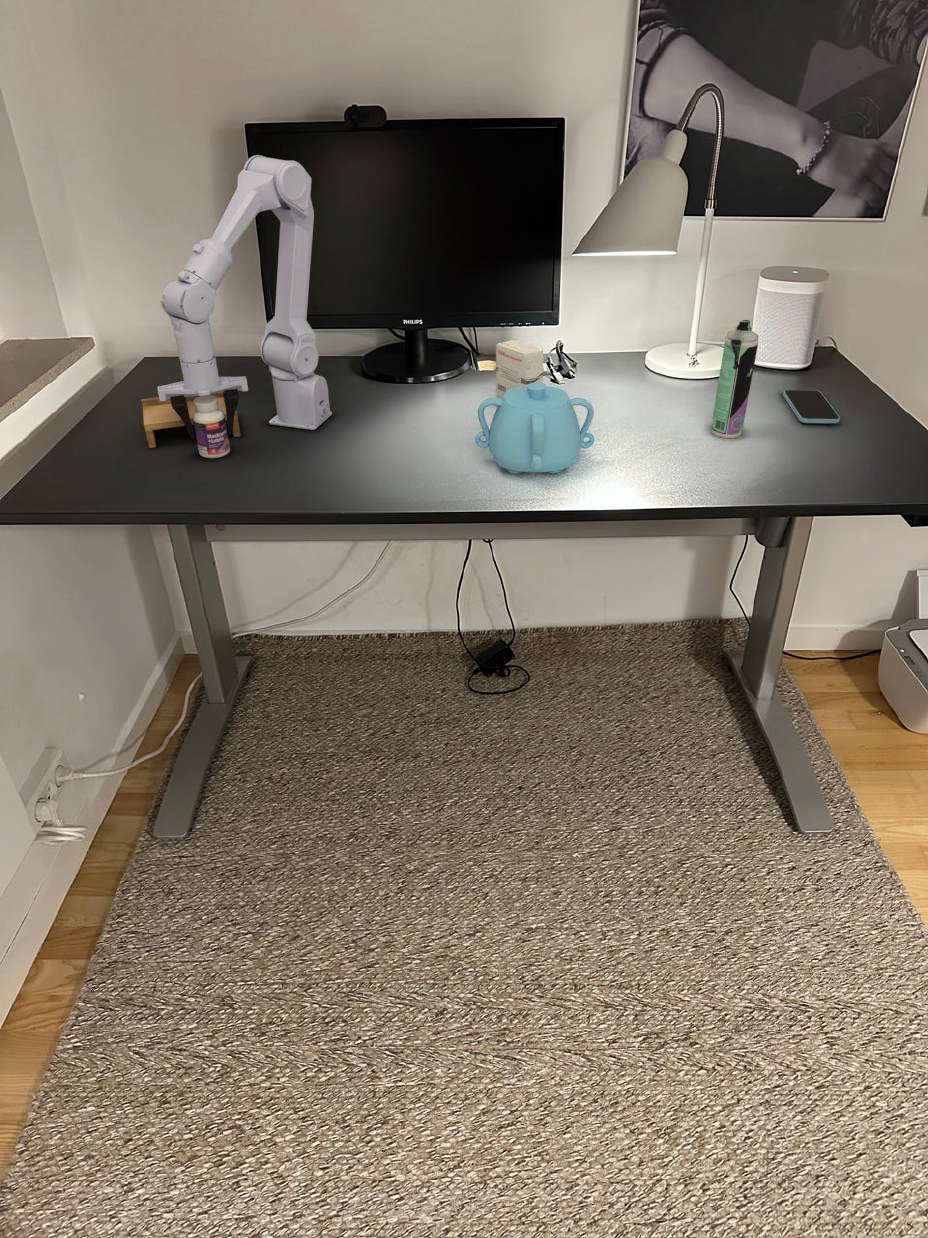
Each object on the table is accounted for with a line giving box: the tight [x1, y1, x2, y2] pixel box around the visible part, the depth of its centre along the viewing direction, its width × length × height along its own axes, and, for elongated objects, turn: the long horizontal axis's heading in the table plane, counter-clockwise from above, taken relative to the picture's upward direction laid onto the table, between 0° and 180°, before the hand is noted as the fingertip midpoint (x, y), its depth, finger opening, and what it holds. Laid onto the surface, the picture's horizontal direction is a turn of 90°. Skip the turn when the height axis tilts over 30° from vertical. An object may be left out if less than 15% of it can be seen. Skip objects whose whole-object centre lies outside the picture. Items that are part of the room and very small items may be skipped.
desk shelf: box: [140, 392, 241, 449], centre depth 164 cm, size 16×9×6 cm, turn 107°
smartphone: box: [782, 389, 841, 424], centre depth 171 cm, size 7×1×15 cm
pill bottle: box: [192, 395, 231, 459], centre depth 156 cm, size 5×5×10 cm
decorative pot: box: [474, 382, 595, 474], centre depth 151 cm, size 16×16×14 cm
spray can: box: [710, 319, 760, 439], centre depth 158 cm, size 6×6×20 cm
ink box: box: [495, 339, 544, 399], centre depth 170 cm, size 9×5×12 cm, turn 39°
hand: (211, 434), depth 157 cm, fingers open, 6 cm apart
